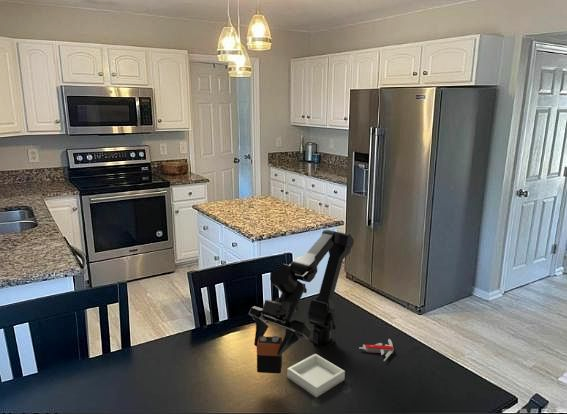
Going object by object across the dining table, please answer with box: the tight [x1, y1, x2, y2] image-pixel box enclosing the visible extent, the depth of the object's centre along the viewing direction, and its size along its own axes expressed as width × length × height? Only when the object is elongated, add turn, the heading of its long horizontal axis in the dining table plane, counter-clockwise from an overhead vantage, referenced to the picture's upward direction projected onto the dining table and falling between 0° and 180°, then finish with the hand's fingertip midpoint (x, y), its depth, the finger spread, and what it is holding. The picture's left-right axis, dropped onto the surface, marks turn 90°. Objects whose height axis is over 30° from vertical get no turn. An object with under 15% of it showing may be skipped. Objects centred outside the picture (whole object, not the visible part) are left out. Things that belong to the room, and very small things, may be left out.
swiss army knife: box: [358, 338, 395, 362], centre depth 138 cm, size 12×14×2 cm
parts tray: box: [286, 353, 346, 398], centre depth 123 cm, size 12×12×3 cm
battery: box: [256, 335, 283, 375], centre depth 117 cm, size 4×7×10 cm, turn 86°
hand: (266, 350), depth 116 cm, fingers closed on battery, 8 cm apart
